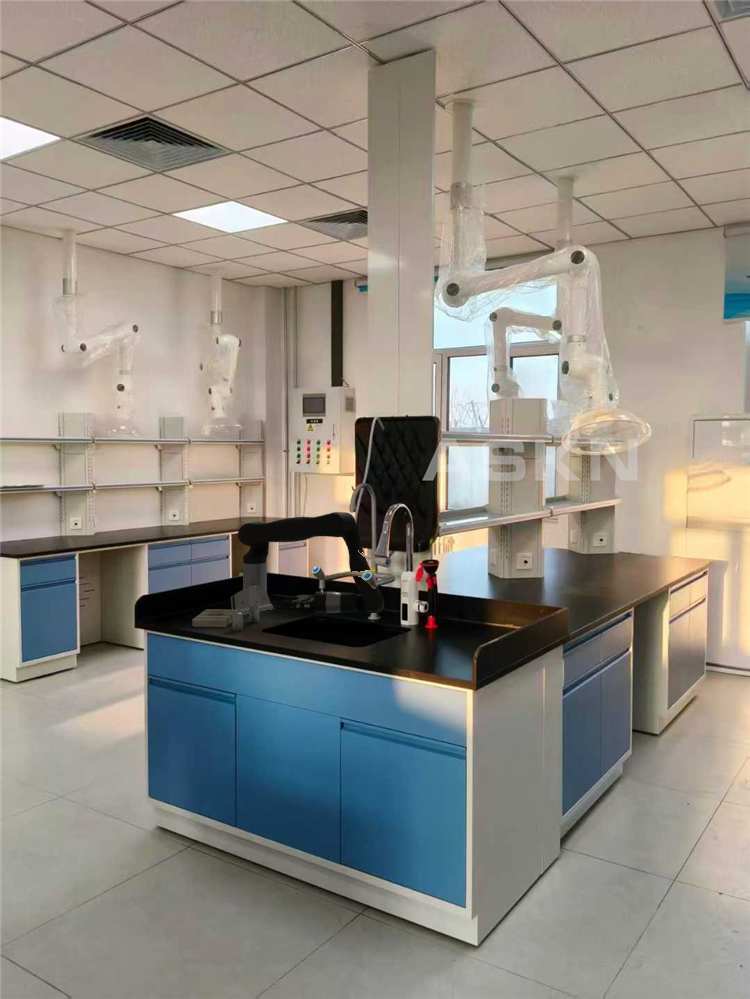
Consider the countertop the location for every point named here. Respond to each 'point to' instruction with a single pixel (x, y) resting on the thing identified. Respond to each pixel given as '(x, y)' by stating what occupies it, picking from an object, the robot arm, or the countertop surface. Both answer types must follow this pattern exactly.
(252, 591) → the long pin
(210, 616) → the hole plate
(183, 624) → the countertop surface
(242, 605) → the hinge
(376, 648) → the countertop surface
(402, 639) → the countertop surface
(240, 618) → the short pin
